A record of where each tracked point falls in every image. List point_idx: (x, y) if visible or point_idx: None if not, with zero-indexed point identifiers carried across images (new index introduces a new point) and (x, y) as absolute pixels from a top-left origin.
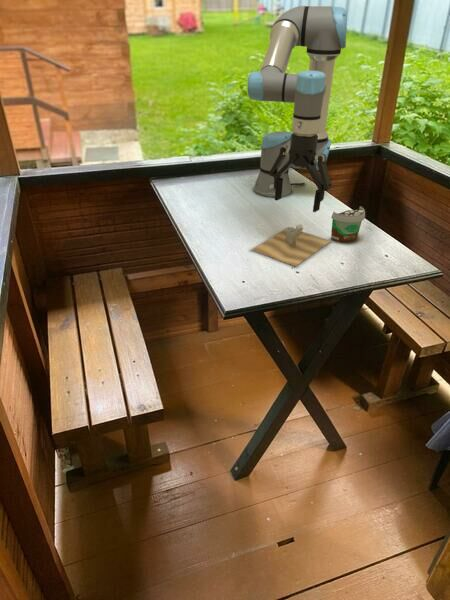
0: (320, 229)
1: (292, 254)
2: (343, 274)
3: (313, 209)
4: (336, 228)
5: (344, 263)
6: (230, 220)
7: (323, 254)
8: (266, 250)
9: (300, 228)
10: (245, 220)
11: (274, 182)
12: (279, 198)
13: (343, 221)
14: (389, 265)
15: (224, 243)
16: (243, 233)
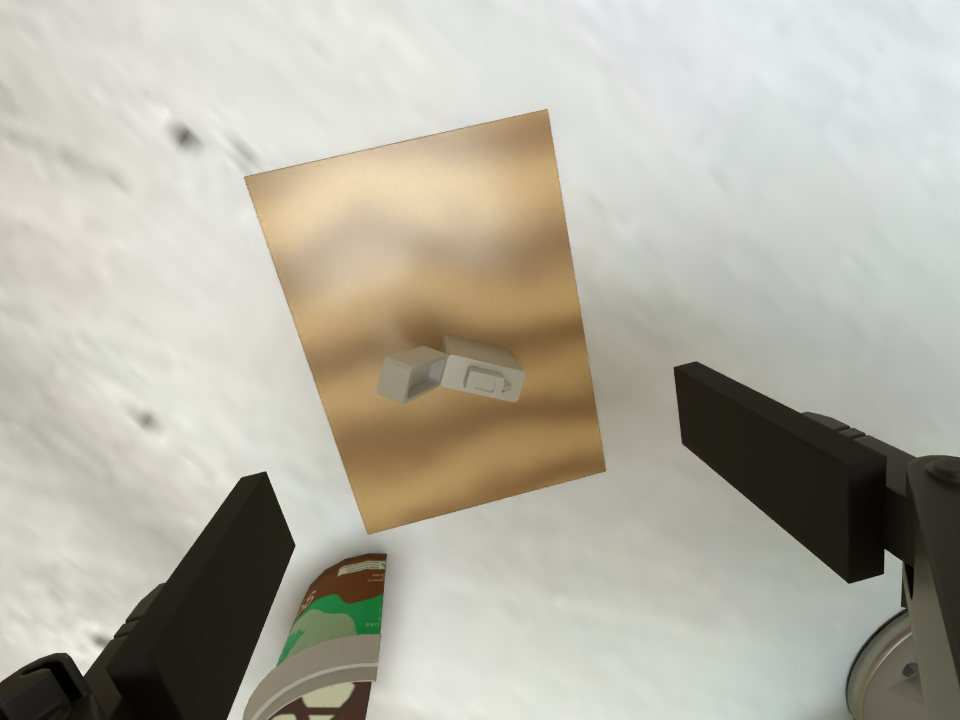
0: (496, 583)
1: (364, 267)
2: (38, 340)
3: (253, 485)
4: (348, 605)
5: (141, 431)
6: (880, 277)
7: (279, 413)
8: (487, 175)
9: (381, 371)
10: (820, 346)
11: (876, 444)
12: (682, 416)
13: (290, 659)
14: (14, 592)
15: (716, 31)
16: (726, 225)
